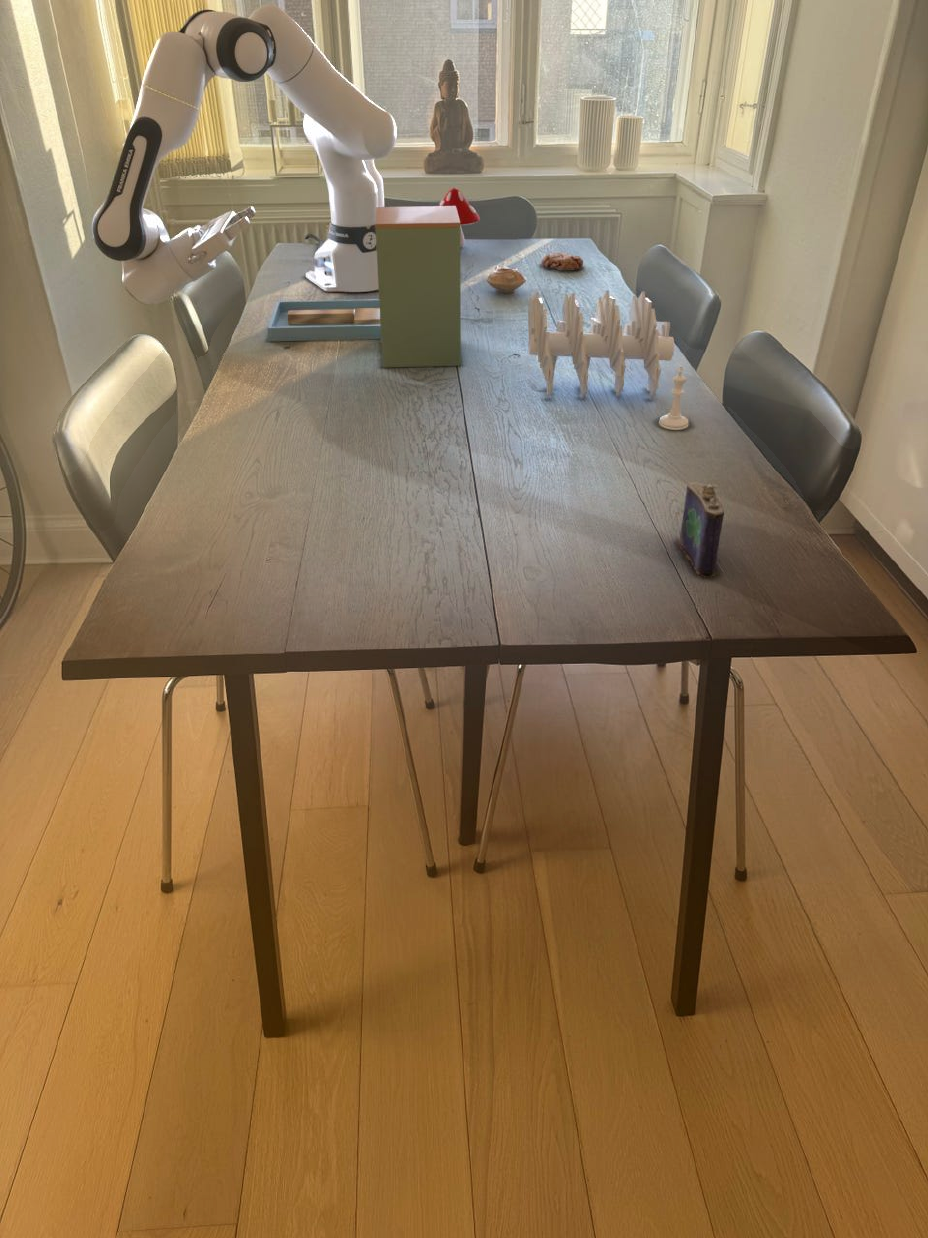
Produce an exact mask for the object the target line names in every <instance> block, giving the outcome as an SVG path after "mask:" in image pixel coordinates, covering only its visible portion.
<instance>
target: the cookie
mask: <svg viewBox="0 0 928 1238" xmlns="http://www.w3.org/2000/svg"><path fill="white" fill-rule="evenodd" d="M540 264H541V266H542V267H545V268H548V269H553V268H554V269H555V268H556V270H559V271H563V270H564V271H565V270H571V271H572V270H574V271H575V270H579V269H582V268H583V266H584V260H583V258H581V257H580V255H579V256H578V255H572V254H569V253H567V252H553V253H550V254H547V255H545V256H543V258H542V260H541V263H540Z"/></svg>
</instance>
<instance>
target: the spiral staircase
mask: <svg viewBox="0 0 928 1238" xmlns="http://www.w3.org/2000/svg"><path fill="white" fill-rule="evenodd" d="M528 302H529V303H528V309H527V323H528V324H527V325H528V326H527V327H528V355H529V356H530V355H531V356H537V361H538V363H539V369H541V371H542V374H543V377H544V380H545V382H546V398H548V399H549V398H551V395H552V392H553V388H554V377H555V370H556V363H557V360H558V358H559V357H572V365H573V369H574V370H575V372H576V375H577V378H578V381H579V390H580V393H579V394H580V395H579V396H580V399H584V397H585V395H586V393H587V392H588V379H589V368H590V367H589V366H590V362H591V358H599V359H608V360H609V368H610V369H611V370H612V372H614V388H613V392H615V396H616V397H620V396H621V393H622V390H623V388H624V385H625V378H624V377H625V373H626V367H627V365H626V362H625V361H626V360H643V368H644V370H645V372H646V373H647V385H646V386H647V387H646V391H647V392H649V398H653V397H654V396H655V393H656V392H657V390H658V388H659V381H660V380H659V379H660V376H661V371H662V369H661V366H660V362H659V361H665V362H666V361H668V362H669V361H672V359H673V357H674V352H675V339H674V337H673V336H670V328H671V322H670V321H657V316H656V308H653V307H652V305H653V302H652V301H651V299H650V298H649V297H646V291H644V290H642V291H641V293H640V294H639V295H638V297H637V295H633V296H632V301H631V304H630V308H629V312H628V317H629V322H627V323H623V324H622V325H621V315H620V309H619V305H618V304H616V298H615V297H613V296H611V295H610V290H605V293H604V295H603V297H602V296H598V298H597V302H596V306H595V307H596V308H595V313H594V317H591V318H590V325H589V331H588V332H584V320H583V319H584V317H583V315H584V314H583V313H582V312H580V307H581V306H580V303H579V301H578V299H576V293H574V292H572V293H571V294H570V295H569V294H565V295H564V300H563V304H562V310H561V317H562V318H561V319H562V320H556V331H550V330H549V331H548V330H547V329H548V320H547V319H548V318H547V317H548V316H547V309H544V302H543V299H542V297H540V292H539V291H536V292H535V294H534V295H533V294H532V295H530V296H529V301H528Z"/></svg>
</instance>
